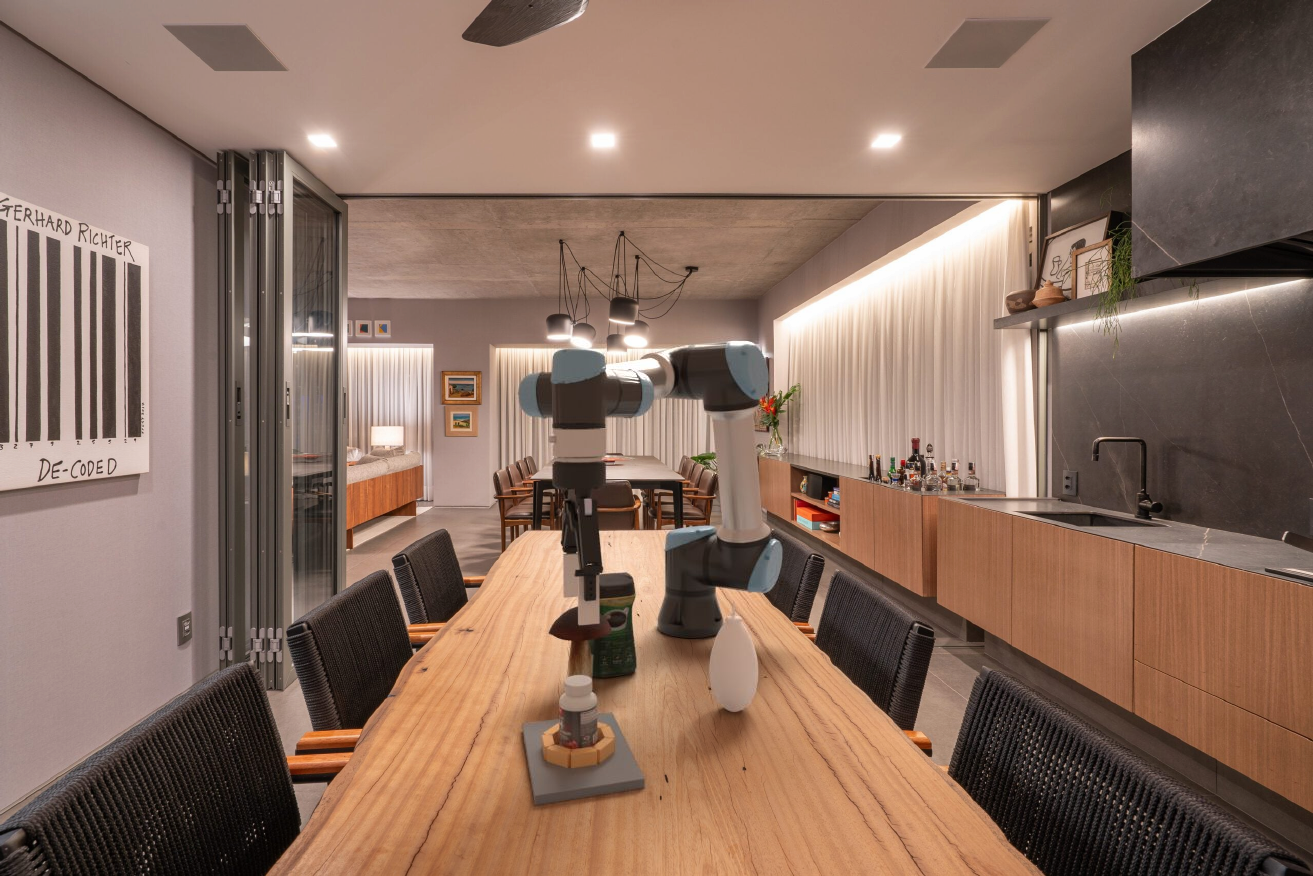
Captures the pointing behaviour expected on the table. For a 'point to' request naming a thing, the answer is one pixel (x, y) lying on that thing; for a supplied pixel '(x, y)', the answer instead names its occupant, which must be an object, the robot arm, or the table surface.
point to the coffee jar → (615, 627)
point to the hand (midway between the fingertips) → (580, 609)
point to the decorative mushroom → (579, 639)
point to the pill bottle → (578, 713)
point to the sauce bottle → (733, 665)
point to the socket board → (579, 762)
